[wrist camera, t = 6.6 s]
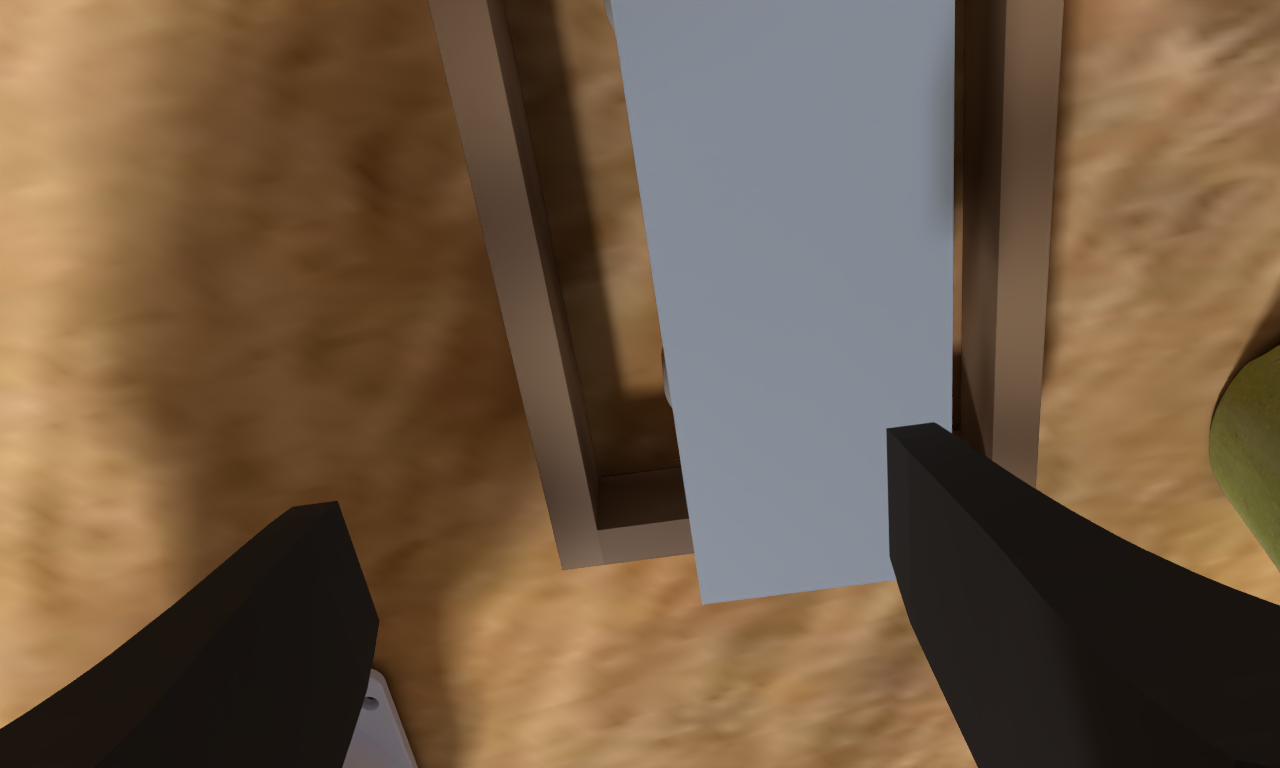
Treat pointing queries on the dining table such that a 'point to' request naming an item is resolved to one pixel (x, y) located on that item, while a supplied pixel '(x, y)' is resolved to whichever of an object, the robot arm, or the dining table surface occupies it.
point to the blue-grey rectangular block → (795, 266)
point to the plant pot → (1251, 448)
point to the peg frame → (547, 372)
